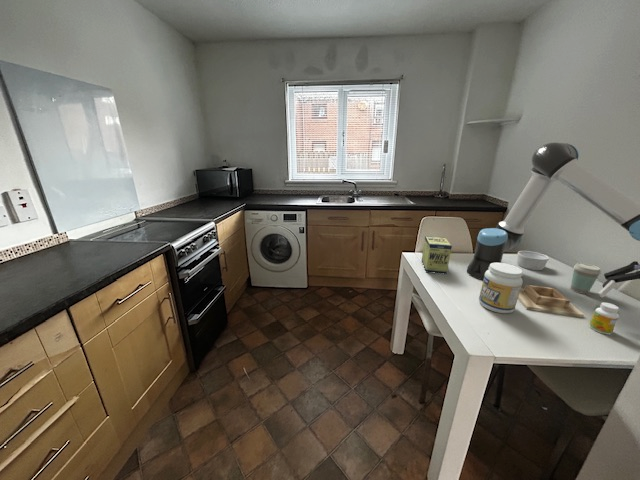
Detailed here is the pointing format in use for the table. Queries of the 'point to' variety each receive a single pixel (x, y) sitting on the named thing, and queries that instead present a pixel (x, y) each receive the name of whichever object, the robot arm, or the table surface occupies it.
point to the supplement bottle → (604, 318)
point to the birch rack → (547, 301)
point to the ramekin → (532, 260)
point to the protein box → (436, 254)
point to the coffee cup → (584, 277)
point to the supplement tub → (501, 287)
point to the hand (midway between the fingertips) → (625, 305)
